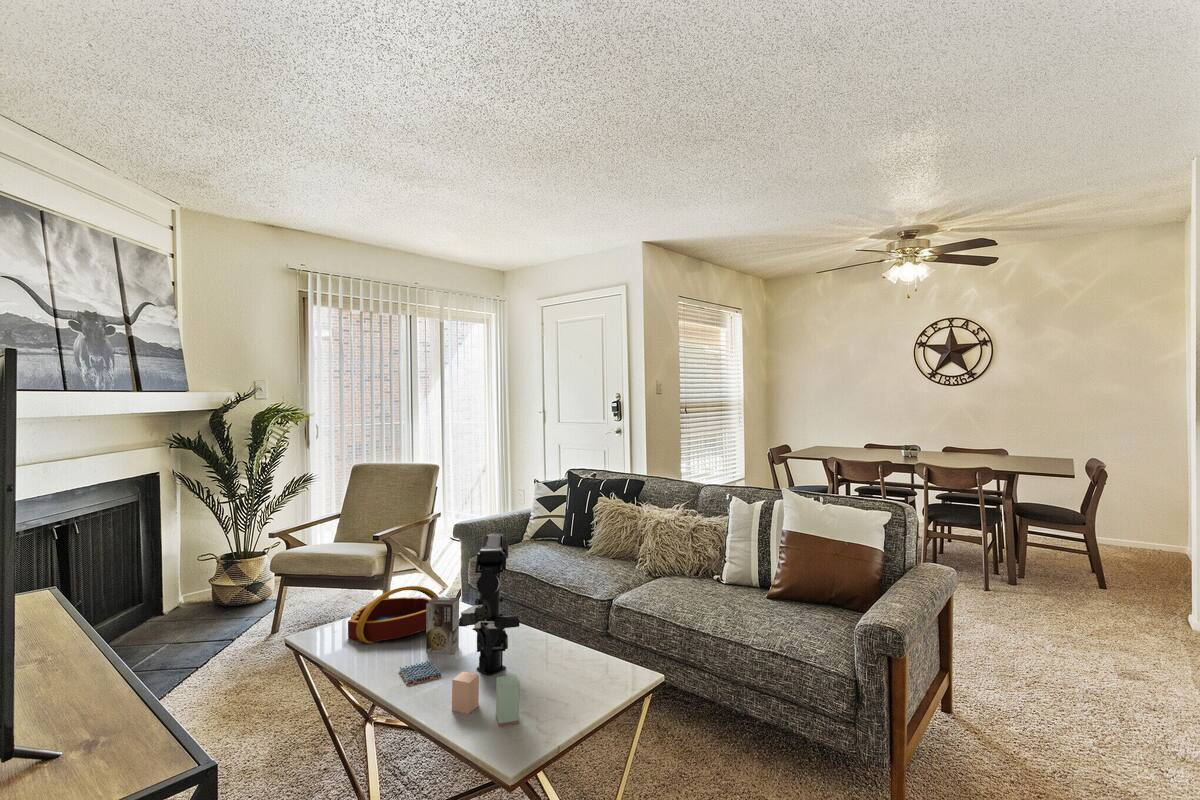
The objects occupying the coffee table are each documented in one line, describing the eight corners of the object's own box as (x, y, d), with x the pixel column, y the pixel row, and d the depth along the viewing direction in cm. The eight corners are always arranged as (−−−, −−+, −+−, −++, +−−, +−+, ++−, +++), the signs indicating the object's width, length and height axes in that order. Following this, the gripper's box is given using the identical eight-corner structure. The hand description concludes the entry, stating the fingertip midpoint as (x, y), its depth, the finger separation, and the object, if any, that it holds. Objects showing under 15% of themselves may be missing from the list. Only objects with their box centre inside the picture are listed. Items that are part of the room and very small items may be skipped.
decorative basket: (420, 614, 227) (417, 575, 228) (466, 620, 209) (462, 578, 210) (335, 641, 200) (332, 597, 202) (379, 652, 182) (375, 603, 184)
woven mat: (407, 688, 163) (407, 681, 163) (397, 674, 172) (397, 667, 172) (443, 679, 169) (443, 672, 169) (432, 665, 177) (432, 659, 177)
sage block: (495, 716, 148) (496, 677, 148) (515, 713, 149) (515, 674, 149) (498, 726, 143) (499, 686, 143) (518, 723, 145) (519, 683, 145)
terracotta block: (462, 701, 155) (462, 671, 155) (478, 704, 154) (479, 674, 154) (451, 710, 150) (452, 679, 151) (468, 713, 149) (469, 682, 149)
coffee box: (459, 646, 191) (460, 597, 191) (452, 654, 184) (453, 604, 185) (432, 645, 192) (433, 596, 192) (425, 653, 185) (425, 602, 186)
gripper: (444, 595, 160) (441, 656, 156) (491, 595, 150) (489, 661, 145) (475, 594, 169) (473, 652, 164) (521, 594, 158) (520, 656, 154)
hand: (487, 655), depth 157 cm, fingers closed
